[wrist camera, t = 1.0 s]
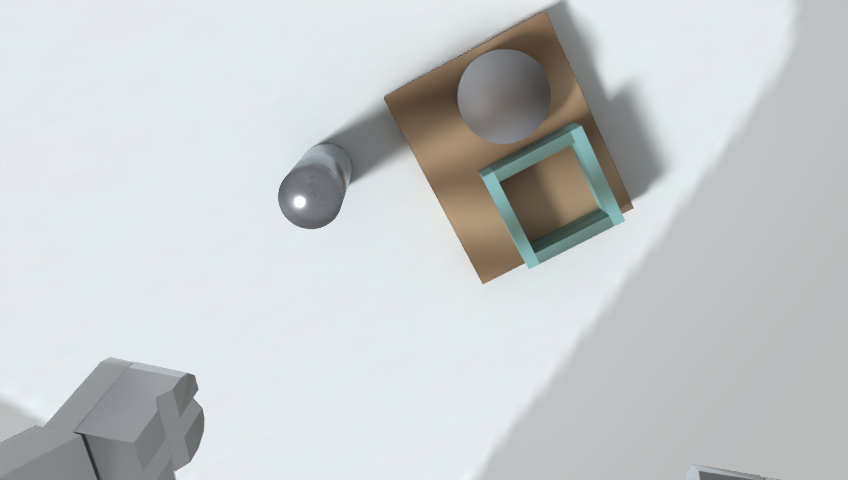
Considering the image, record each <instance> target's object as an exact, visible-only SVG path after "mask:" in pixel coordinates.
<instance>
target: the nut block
mask: <svg viewBox="0 0 848 480" xmlns="http://www.w3.org/2000/svg"><path fill="white" fill-rule="evenodd" d="M384 99H385V101H386V103H387V105H388V107H389V109H390V110H391V112H392V114H393V116H394V118H395V120H396V122H397V124H398V126H399V127H400V129H401V131H402V133H403V135H404V137H405V139H406V141H407V142H408V144H409V146H410V148H411V150H412V152H413V154H414V156H415V158H416V159H417V161H418V163H419V165H420V167H421V169H422V171H423V173H424V174H425V176H426V178H427V180H428V182H429V184H430V186H431V188H432V189H433V191H434V193H435V195H436V197H437V199H438V201H439V203H440V205H441V206H442V208H443V210H444V212H445V214H446V216H447V218H448V220H449V221H450V223H451V225H452V227H453V229H454V231H455V233H456V235H457V236H458V238H459V240H460V242H461V244H462V246H463V248H464V250H465V252H466V253H467V255H468V257H469V259H470V261H471V263H472V265H473V267H474V268H475V270H476V272H477V274H478V276H479V278H480V280H481V282H482V283H483V284H485V283H487V282H489V281H491V280H492V279H494V278H496V277H498V276H500V275H502V274H504V273H506V272H508V271H510V270H512V269H514V268H516V267H518V266H520V265H522V264H524V263H526V265H527V266H528V268H529V269H530V268H532V267H534V266H536V265H538V264H540V263H542V262H544V261H546V260H548V259H550V258H552V257H554V256H556V255H558V254H560V253H562V252H564V251H566V250H568V249H570V248H572V247H574V246H576V245H578V244H580V243H582V242H584V241H586V240H588V239H590V238H592V237H594V236H596V235H598V234H600V233H602V232H603V231H605V230H607V229H609V228H611V227H613V226H615V225H617V224H619V223H621V222H623V221H625V220H624V217H623V215H622V214H623V213H625V212H627V211H629V210H631V209H633V205H632V203H631V201H630V199H629V196H628V194H627V192H626V190H625V187H624V185H623V183H622V181H621V179H620V176H619V174H618V172H617V170H616V167H615V165H614V163H613V161H612V159H611V156H610V154H609V152H608V150H607V147H606V145H605V143H604V141H603V139H602V136H601V134H600V132H599V130H598V127H597V125H596V123H595V121H594V118H593V116H592V114H591V112H590V110H589V107H588V105H587V103H586V101H585V98H584V96H583V94H582V92H581V90H580V87H579V85H578V83H577V81H576V78H575V76H574V74H573V72H572V70H571V67H570V65H569V63H568V61H567V58H566V56H565V54H564V52H563V49H562V47H561V45H560V43H559V41H558V38H557V36H556V34H555V32H554V29H553V27H552V25H551V23H550V21H549V18H548V16H547V14H546V12H545V11H543V12H540V13H538V14H536V15H534V16H532V17H530V18H529V19H527V20H525V21H523V22H521V23H519V24H518V25H516V26H514V27H512V28H510V29H508V30H506V31H505V32H503V33H501V34H499V35H497V36H495V37H494V38H492V39H490V40H488V41H486V42H484V43H482V44H481V45H479V46H477V47H475V48H473V49H471V50H470V51H468V52H466V53H464V54H462V55H460V56H458V57H457V58H455V59H453V60H451V61H449V62H447V63H446V64H444V65H442V66H440V67H438V68H436V69H434V70H433V71H431V72H429V73H427V74H425V75H423V76H421V77H420V78H418V79H416V80H414V81H412V82H410V83H409V84H407V85H405V86H403V87H401V88H399V89H397V90H396V91H394V92H392V93H390V94H388V95H386V96H385V97H384Z"/></svg>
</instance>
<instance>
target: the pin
mask: <svg viewBox="0 0 848 480" xmlns="http://www.w3.org/2000/svg"><path fill="white" fill-rule="evenodd" d="M351 175H352V164H351V160H350V158H349V156H348V155H347V153H346V152H345V151H344V150H343V149H341V148H340V147H338V146H336V145H333V144H328V143H323V144H318V145H316V146H314V147H312V148H311V149H309V150H308V151H307V152H306V154H305V155H304V156H303V157H302V158H301V160H300V161H299V162H298V163H297V164H296V165H295V167H294V168H293V169H292V170H291V171H290V173H289V174H288V175H287V176H286V177H285V179H284V180H283V181H282V183H281V185H280V188H279V193H278V201H279V206H280V208H281V211H282V213H283V214H284V216H285V217H286V218H287V219H288V220H289V221H290V222H292V223H293V224H295V225H297V226H299V227H301V228H306V229H316V228H321V227H323V226H326V225H327V224H329V223H330V222H332V221H333V220H334V219H335V218H336V216H337V215H338V213H339V211H340V208H341V205H342V202H343V199H344V196H345V193H346V190H347V187H348V184H349V181H350V178H351Z"/></svg>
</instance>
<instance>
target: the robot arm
mask: <svg viewBox="0 0 848 480" xmlns="http://www.w3.org/2000/svg"><path fill="white" fill-rule="evenodd" d="M197 391H198V386H197V382H196V378H195V375H192V374H189V373H185V372H180V371H176V370H171V369H166V368H161V367H157V366H152V365H147V364H142V363H138V362H131V361H126V360H121V359H117V358H112V357H110V358H108V359H106V360H104V361H102V362H101V363H99V365H98V366H97V367H96V368H95V369H94V370H93V371H92V372H91V374H90V375H89V376H88V377H87V378H86V379H85V380H84V382H83V383H82V384H81V385H80V386H79V387H78V388H77V390H76V391H75V392H74V393H73V394H72V395H71V396H70V397H69V399H68V400H67V401H66V402H65V403H64V404H63V405H62V407H61V408H60V409H59V410H58V411H57V412H56V413H55V414H54V416H53V417H52V418H51V419H50V420H49V421H48V422H47V424H46V425H45V426H44V427H42V426H34V427H32V428H29V429H27V430H25V431H24V432H21V433H19V434H17V435H15V436H13V437H11V438H9V439H7V440H5V441H3V442H1V443H0V480H176V475H175V471H176V470H178V469H180V468H181V467H183V466H185V465H186V464H188V463H190V462H191V460H192V458H193V456H194V455H195V453H196V451H197V450H198V448H199V445H200V441H201V438H202V435H203V432H204V414H203V409H202V407H201V406H200V405H199V404H198V403H197V402H196V401H195V400H194V398H193V397H194V395H195V394H196V392H197ZM685 480H779V479H773V478H768V477H761V476H759V475H753V474H747V473H741V472H735V471H729V470H724V469H718V468H712V467H706V466H700V465H693V466H692V467H691V468H690V469H689V471H688V474H687V476H686V479H685Z"/></svg>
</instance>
